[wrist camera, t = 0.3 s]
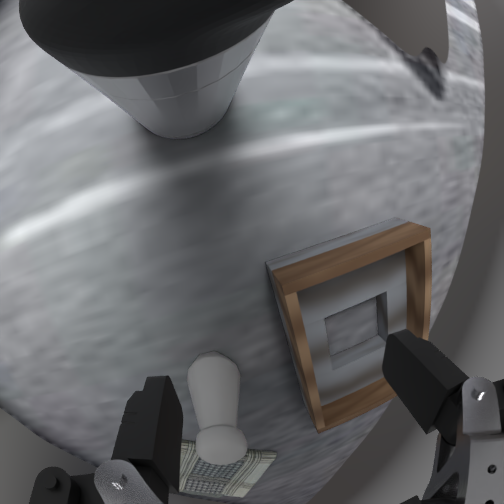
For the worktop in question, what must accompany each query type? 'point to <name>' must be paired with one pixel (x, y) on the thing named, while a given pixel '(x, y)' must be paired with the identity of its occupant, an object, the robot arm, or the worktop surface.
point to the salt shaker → (216, 408)
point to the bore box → (345, 296)
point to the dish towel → (221, 472)
